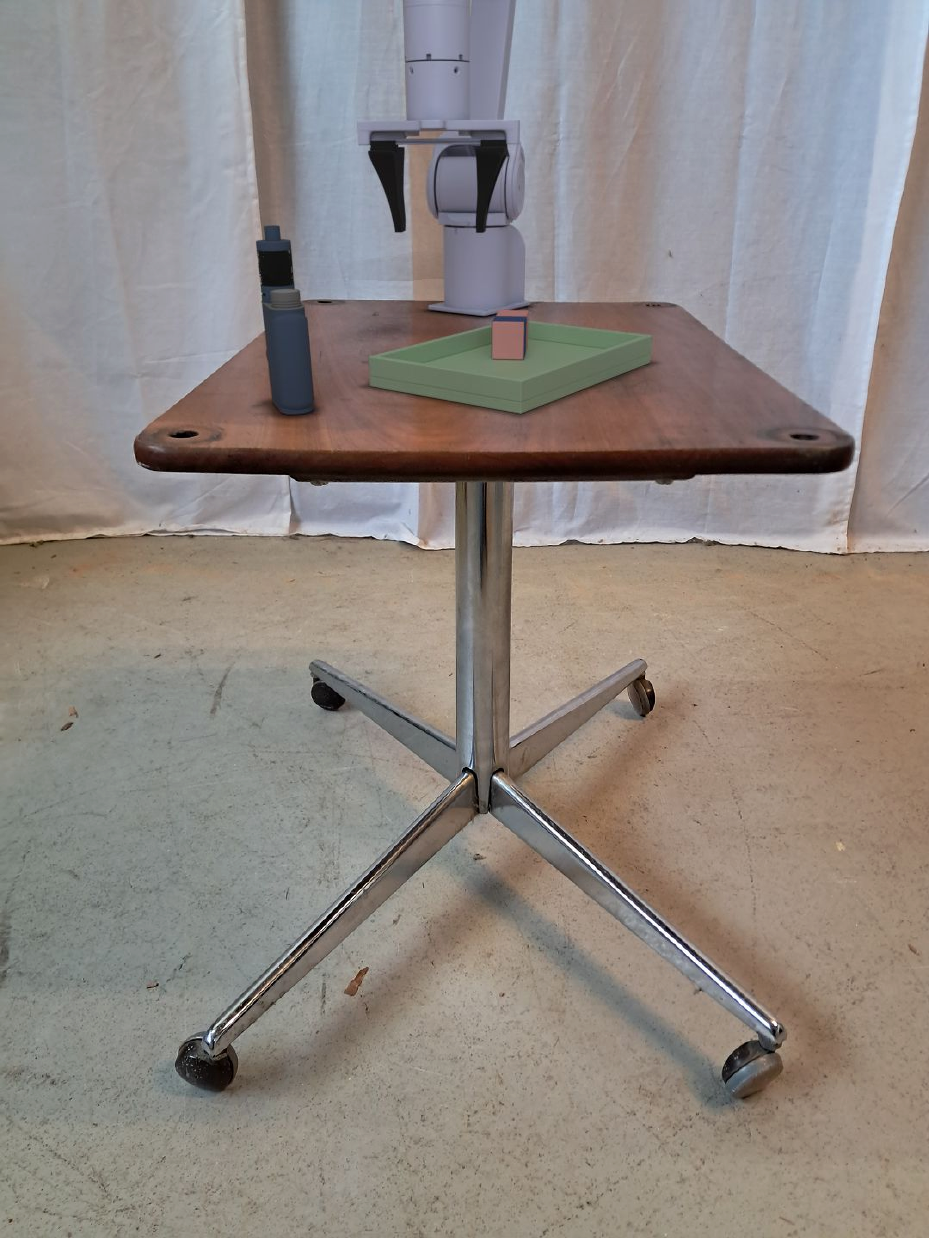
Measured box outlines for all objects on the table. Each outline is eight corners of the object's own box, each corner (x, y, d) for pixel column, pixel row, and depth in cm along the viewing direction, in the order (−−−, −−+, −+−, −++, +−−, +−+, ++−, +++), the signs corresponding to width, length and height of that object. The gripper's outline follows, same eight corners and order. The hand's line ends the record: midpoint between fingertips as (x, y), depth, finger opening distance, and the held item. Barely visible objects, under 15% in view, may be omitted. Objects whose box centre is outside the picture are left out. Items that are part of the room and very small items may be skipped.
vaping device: (302, 396, 69) (287, 224, 63) (318, 413, 65) (303, 230, 59) (268, 400, 68) (249, 225, 63) (282, 417, 64) (263, 231, 58)
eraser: (498, 345, 82) (498, 309, 80) (528, 346, 81) (529, 309, 80) (491, 359, 76) (491, 321, 75) (523, 360, 76) (524, 321, 75)
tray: (513, 344, 86) (513, 318, 85) (650, 362, 78) (652, 335, 77) (369, 386, 72) (368, 356, 71) (520, 414, 64) (521, 381, 63)
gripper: (345, 61, 77) (355, 235, 83) (516, 58, 75) (513, 236, 82) (364, 67, 83) (372, 228, 90) (523, 64, 81) (519, 229, 88)
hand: (440, 232), depth 86 cm, fingers open, 7 cm apart
